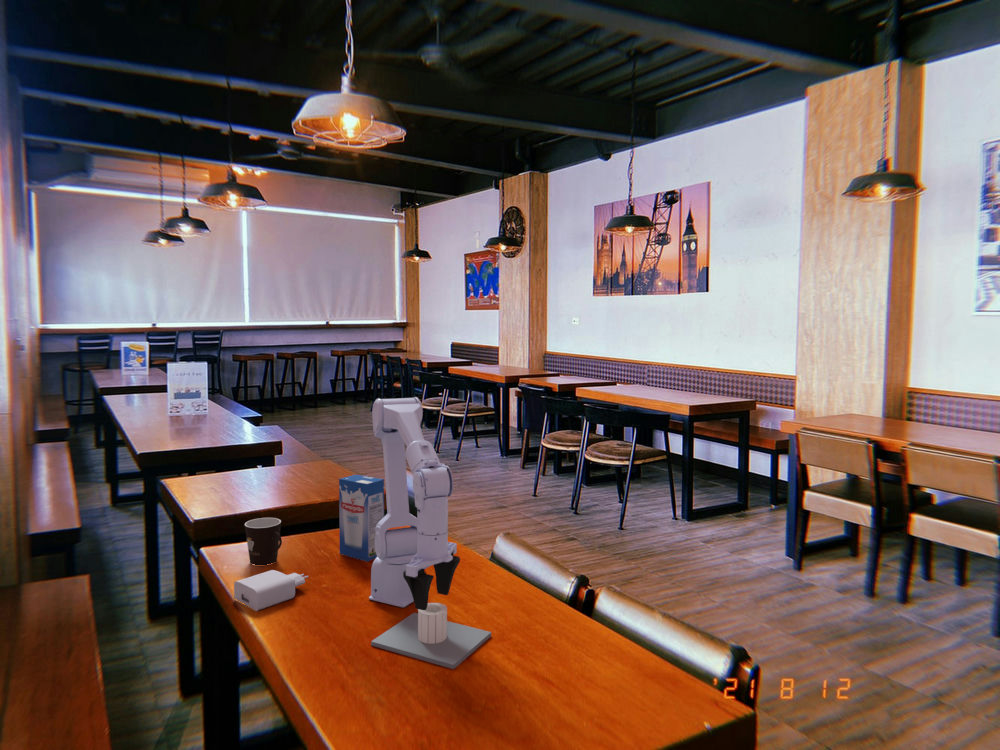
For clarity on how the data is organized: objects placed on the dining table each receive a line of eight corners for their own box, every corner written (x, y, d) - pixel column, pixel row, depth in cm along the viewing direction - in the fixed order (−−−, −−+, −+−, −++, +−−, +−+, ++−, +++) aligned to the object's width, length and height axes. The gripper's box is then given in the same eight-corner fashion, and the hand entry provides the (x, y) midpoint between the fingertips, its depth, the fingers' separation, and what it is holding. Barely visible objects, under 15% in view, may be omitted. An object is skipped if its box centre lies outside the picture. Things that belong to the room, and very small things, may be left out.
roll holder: (371, 645, 123) (371, 628, 123) (414, 616, 135) (414, 600, 135) (453, 669, 115) (453, 651, 115) (491, 636, 127) (491, 619, 127)
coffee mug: (244, 558, 168) (243, 520, 167) (279, 553, 172) (278, 516, 171) (247, 574, 157) (246, 533, 157) (285, 568, 161) (284, 528, 160)
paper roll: (412, 639, 124) (412, 611, 123) (428, 627, 129) (428, 600, 128) (436, 646, 121) (436, 617, 121) (452, 634, 126) (452, 606, 126)
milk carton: (384, 554, 172) (384, 479, 170) (367, 561, 167) (367, 484, 165) (356, 547, 177) (356, 474, 176) (339, 554, 172) (338, 478, 170)
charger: (318, 591, 148) (257, 613, 137) (294, 580, 154) (234, 601, 143) (317, 570, 148) (257, 591, 136) (294, 561, 154) (233, 579, 142)
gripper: (429, 545, 115) (428, 620, 116) (470, 523, 128) (469, 591, 129) (396, 539, 119) (396, 612, 120) (439, 518, 131) (439, 584, 132)
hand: (432, 601), depth 125 cm, fingers open, 7 cm apart
